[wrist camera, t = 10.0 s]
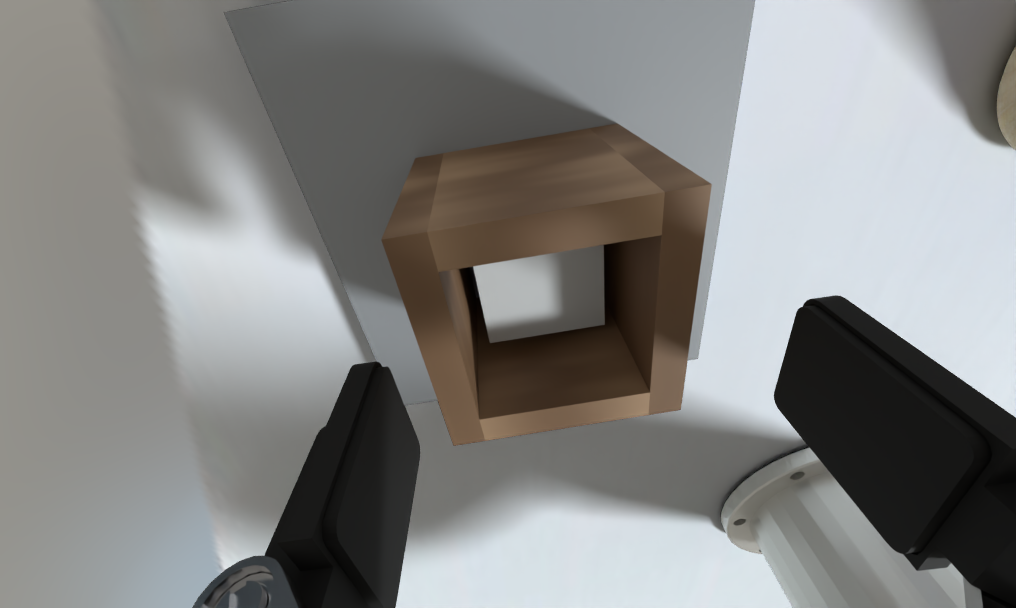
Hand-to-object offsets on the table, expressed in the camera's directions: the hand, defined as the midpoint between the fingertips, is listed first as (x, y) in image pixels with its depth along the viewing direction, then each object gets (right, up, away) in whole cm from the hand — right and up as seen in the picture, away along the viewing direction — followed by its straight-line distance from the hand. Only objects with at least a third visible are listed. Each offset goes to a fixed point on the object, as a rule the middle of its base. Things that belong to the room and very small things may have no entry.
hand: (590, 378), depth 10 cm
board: (-1, +5, +6) cm, 8 cm away
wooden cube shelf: (-1, +4, +5) cm, 7 cm away
